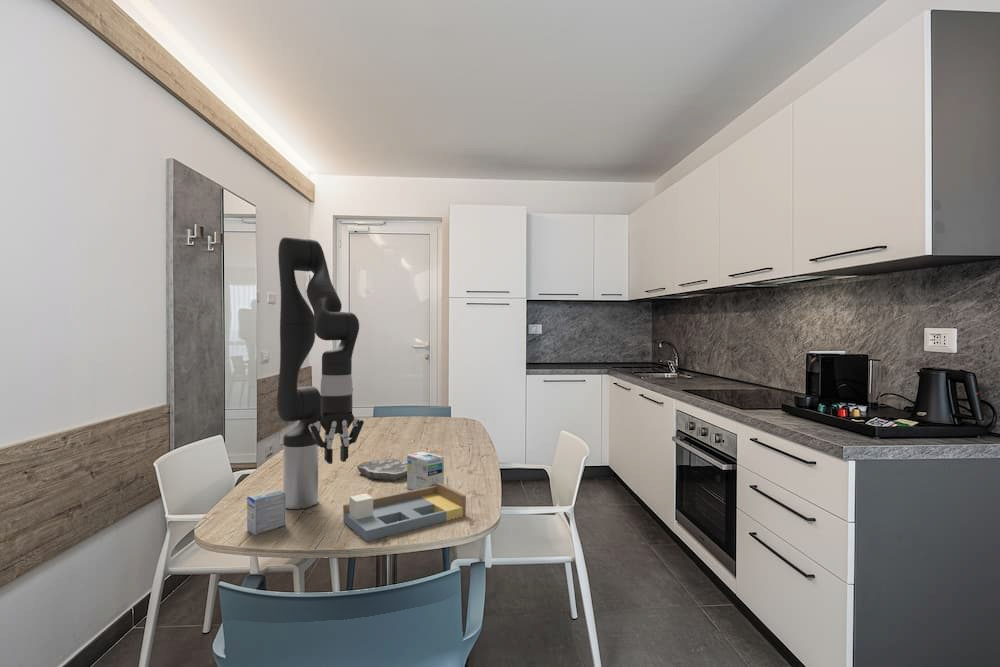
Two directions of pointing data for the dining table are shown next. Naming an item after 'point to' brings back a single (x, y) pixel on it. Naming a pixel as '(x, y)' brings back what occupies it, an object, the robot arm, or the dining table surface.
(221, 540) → the dining table surface
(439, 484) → the trap deck
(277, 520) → the medicine box
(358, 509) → the ivory block
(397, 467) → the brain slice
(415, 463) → the light bulb box
